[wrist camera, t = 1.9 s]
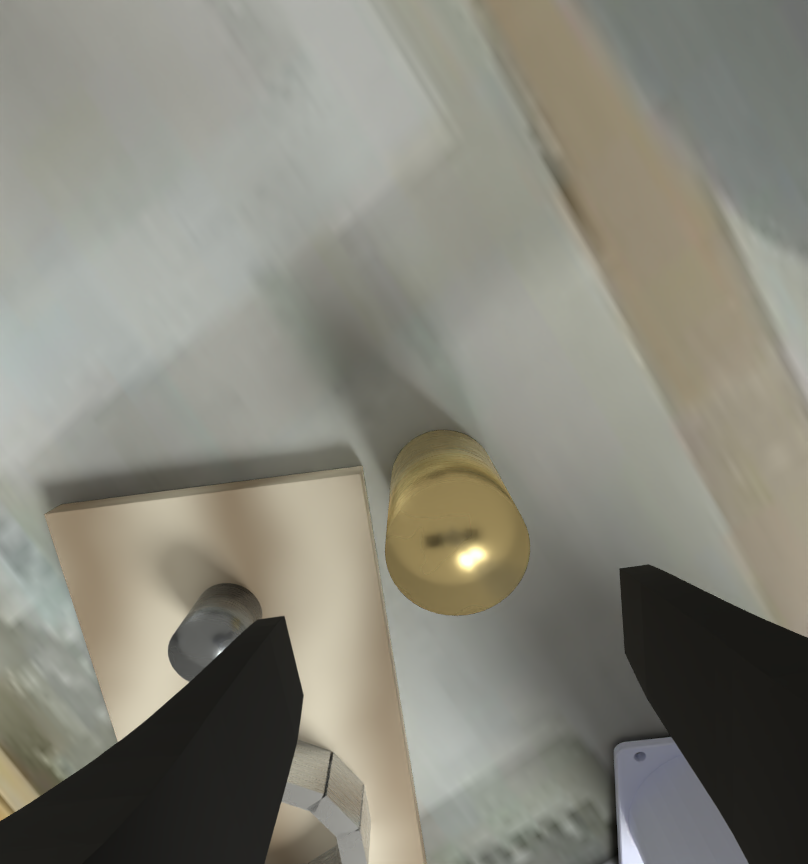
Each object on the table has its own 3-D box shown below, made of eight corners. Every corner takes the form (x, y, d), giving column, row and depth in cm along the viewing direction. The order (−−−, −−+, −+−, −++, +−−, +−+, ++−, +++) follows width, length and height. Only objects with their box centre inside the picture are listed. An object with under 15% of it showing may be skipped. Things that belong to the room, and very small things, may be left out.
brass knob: (489, 423, 20) (524, 474, 14) (498, 520, 20) (534, 606, 15) (384, 437, 20) (374, 492, 14) (398, 533, 21) (395, 623, 15)
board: (362, 465, 20) (360, 473, 19) (426, 861, 25) (427, 885, 24) (61, 504, 20) (44, 514, 19) (181, 886, 25) (172, 909, 24)
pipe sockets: (323, 571, 20) (312, 608, 17) (381, 872, 24) (378, 938, 21) (121, 595, 20) (83, 635, 18) (209, 889, 24) (186, 956, 21)
